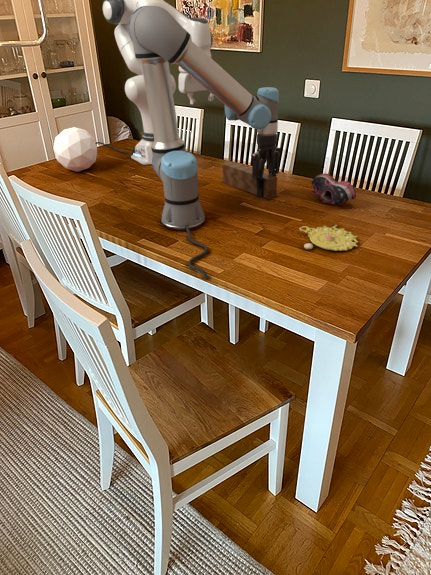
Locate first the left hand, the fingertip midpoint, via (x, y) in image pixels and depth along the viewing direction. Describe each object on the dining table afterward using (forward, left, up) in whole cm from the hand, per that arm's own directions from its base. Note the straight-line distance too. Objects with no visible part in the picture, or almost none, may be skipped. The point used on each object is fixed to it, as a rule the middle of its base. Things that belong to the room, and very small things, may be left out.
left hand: (202, 102), depth 183 cm
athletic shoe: (+58, +9, -30) cm, 66 cm away
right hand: (+37, -2, -30) cm, 47 cm away
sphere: (-51, -34, -30) cm, 68 cm away
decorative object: (+77, -19, -30) cm, 85 cm away
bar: (+27, -1, -30) cm, 41 cm away
